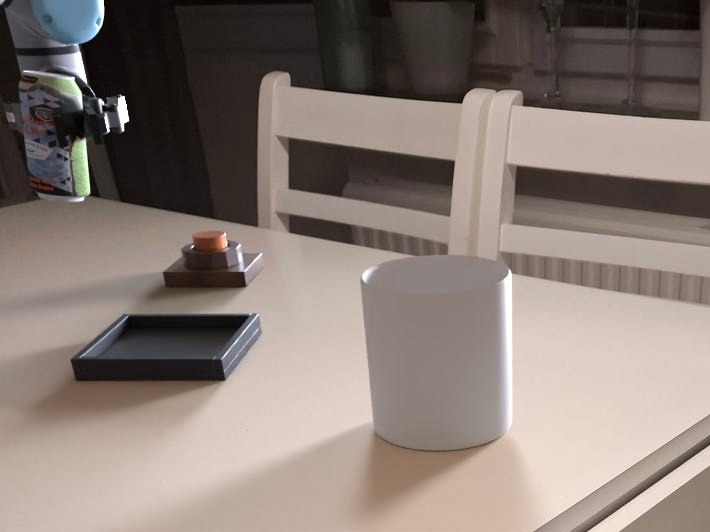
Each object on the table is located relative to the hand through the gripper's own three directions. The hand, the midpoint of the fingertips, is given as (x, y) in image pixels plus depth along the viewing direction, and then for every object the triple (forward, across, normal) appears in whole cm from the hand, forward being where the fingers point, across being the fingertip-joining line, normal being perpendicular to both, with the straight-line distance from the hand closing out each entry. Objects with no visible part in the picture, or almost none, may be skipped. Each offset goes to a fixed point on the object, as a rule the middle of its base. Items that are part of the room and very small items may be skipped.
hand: (78, 130), depth 102 cm
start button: (-11, -13, -15) cm, 22 cm away
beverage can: (-5, +2, -7) cm, 9 cm away
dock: (+18, -3, -18) cm, 25 cm away
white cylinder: (+46, -22, -18) cm, 54 cm away
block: (-11, -13, -18) cm, 25 cm away
